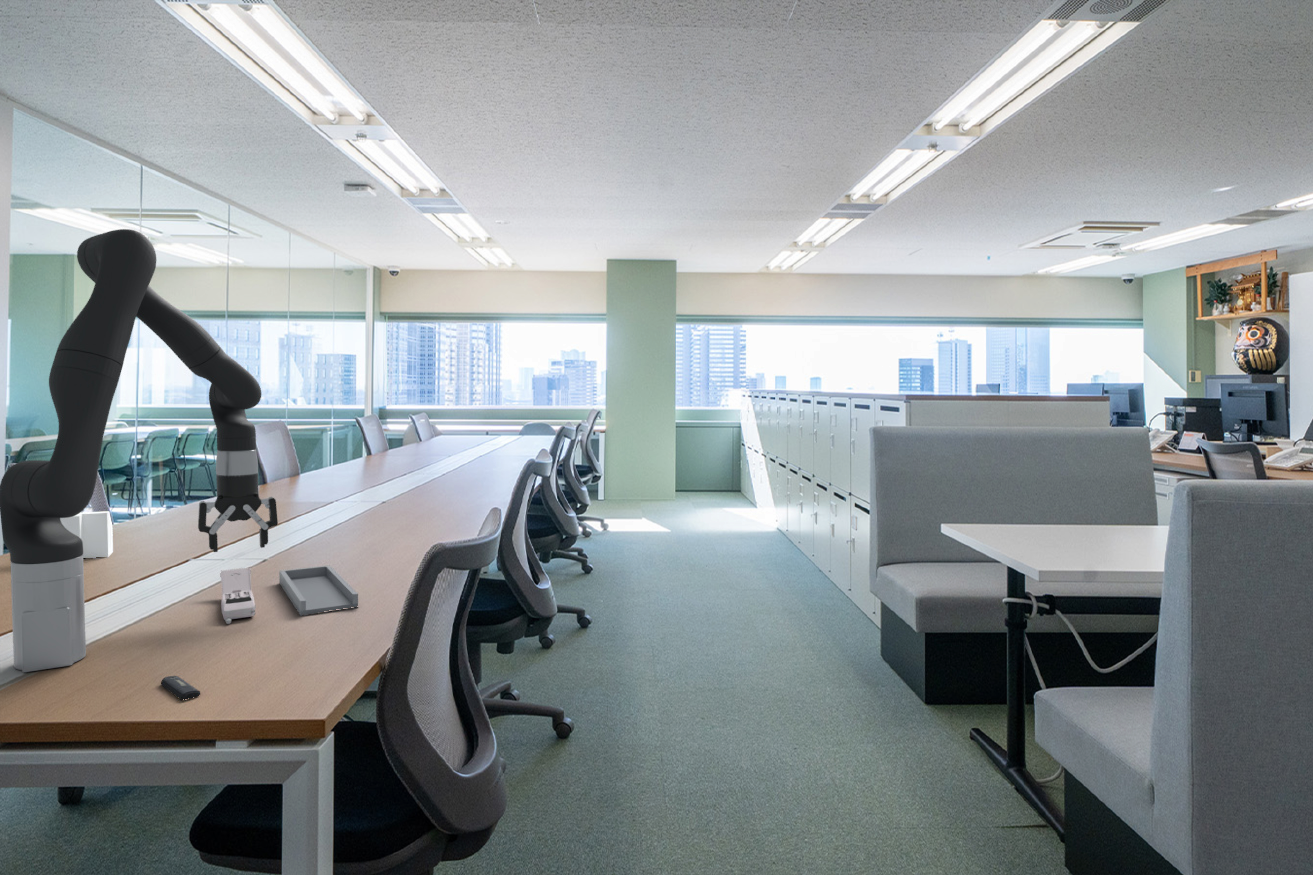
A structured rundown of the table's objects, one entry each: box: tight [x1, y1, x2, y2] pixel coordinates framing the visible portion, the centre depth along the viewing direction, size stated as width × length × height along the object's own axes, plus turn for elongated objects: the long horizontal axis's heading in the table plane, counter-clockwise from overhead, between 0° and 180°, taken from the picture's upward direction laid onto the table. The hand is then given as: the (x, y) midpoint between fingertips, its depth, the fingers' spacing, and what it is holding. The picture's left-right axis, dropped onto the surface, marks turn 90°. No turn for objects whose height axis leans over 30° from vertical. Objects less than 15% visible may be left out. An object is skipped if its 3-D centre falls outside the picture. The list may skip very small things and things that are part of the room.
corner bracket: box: [60, 510, 114, 559], centre depth 196 cm, size 11×11×12 cm
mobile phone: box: [219, 566, 257, 625], centre depth 154 cm, size 6×6×25 cm
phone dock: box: [278, 564, 359, 617], centre depth 164 cm, size 30×11×3 cm, turn 34°
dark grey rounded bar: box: [160, 675, 201, 701], centre depth 111 cm, size 10×3×2 cm, turn 51°
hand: (239, 549), depth 153 cm, fingers open, 8 cm apart
